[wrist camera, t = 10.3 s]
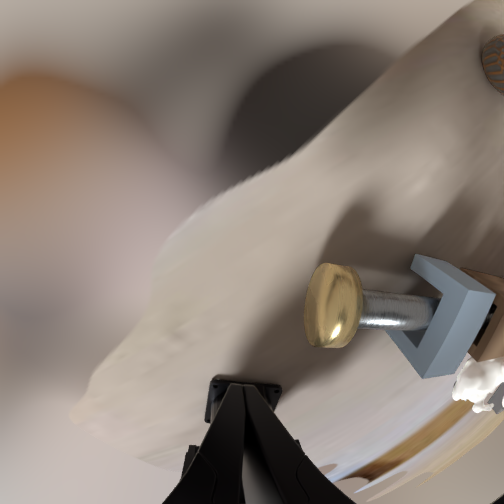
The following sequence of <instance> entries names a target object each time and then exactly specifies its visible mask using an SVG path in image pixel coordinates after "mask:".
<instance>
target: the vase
mask: <svg viewBox="0 0 504 504" xmlns="http://www.w3.org/2000/svg"><path fill="white" fill-rule="evenodd" d="M482 63H483V68H484V71H485V73H486V76H487V78H488V79H489V81H490V83H491V84H492V85H493V86H494V87H495V88H496V89H497V90H498V91H499V92H500V93H501V94H502V95H504V34H502V35H498V36H496V37H494V38H492V39H491V40H489V41H488V42H487V44H486V45H485V47H484V50H483V55H482Z"/></svg>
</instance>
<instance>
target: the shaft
mask: <svg viewBox="0 0 504 504" xmlns="http://www.w3.org/2000/svg"><path fill="white" fill-rule="evenodd" d="M441 299H442V298H433V297H424V296H416V295H407V294H398V293H390V292H382V291H374V290H366V289H362V285H361V281H360V278H359V276H358V274H357V272H356V271H355V270H354V269H353V268H351V267H348V266H342V265H336V264H330V263H323V264H321V265H320V266H319V267H318V268H317V269H316V270H315V272H314V274H313V276H312V278H311V280H310V283H309V286H308V290H307V294H306V299H305V307H304V327H305V333H306V337H307V339H308V341H309V343H310V344H311V345H312V346H314V347H326V348H342V347H344V346H346V345H347V344H348V343H349V342H350V341H351V339H352V338H353V336H354V335H355V333H356V331H357V329H376V330H412V331H427V329H428V327H429V325H430V323H431V320H432V318H433V316H434V314H435V312H436V310H437V308H438V305H439V303H440V301H441ZM496 308H497V306H496V305H495V304H493V303H492V305H491V307H490V309H489V311H488V314H487V316H486V318H485V320H484V322H483V324H482V326H481V328H480V330H482V329H487V327H488V325H489V323H490V321H491V319H492V317H493V315H494V312H495V310H496Z"/></svg>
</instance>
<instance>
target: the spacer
mask: <svg viewBox="0 0 504 504" xmlns="http://www.w3.org/2000/svg"><path fill="white" fill-rule="evenodd" d="M410 269H412V270H413V271H414V272H416V273H417V274H418V275H420V276H421V277H422V278H424V279H425V280H426V281H428V282H429V283H430V284H431V285H433V286H434V287H435V288H437V289H438V290H439V291H440V292H442V293H443V296H442V299H441V301H440V303H439V305H438V308H437V310H436V312H435V314H434V316H433V318H432V320H431V323H430V325H429V327H428V329H427V331H412V330H385V331H386V332H387V333H388V335H389V336H390V337H391V339H392V340H393V341H394V342H395V344H396V345H397V346H398V348H399V349H400V350H401V351H402V353H403V354H404V355H405V357H406V358H407V359H408V361H409V362H410V363H411V365H412V366H413V367H414V369H415V370H416V371H417V373H418V374H419V375H420V377H421V378H422V379H424V378H431V377H437V376H444V375H449V374H454V373H455V371H456V370H457V368H458V367H459V365H460V363H461V362H462V360H463V358H464V357H465V355H466V353H467V352H468V350H469V348H470V346H471V345H472V343H473V341H474V339H475V337H476V336H477V334H478V332H479V330H480V328H481V326H482V324H483V322H484V320H485V318H486V316H487V314H488V311H489V309H490V307H491V305H492V303H493V300H494V298H495V296H496V294H495V293H494V292H492V291H491V290H489V289H488V288H486V287H485V286H483V285H482V284H481V283H479V282H478V281H476V280H475V279H473V278H472V277H470V276H469V275H467V274H465V273H464V272H462V271H461V270H459V269H458V268H456V267H455V266H453V265H451V264H450V263H448V262H447V261H443V260H439V259H435V258H431V257H427V256H423V255H419V254H415V256H414V259H413V262H412V265H411V268H410Z"/></svg>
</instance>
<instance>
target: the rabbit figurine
mask: <svg viewBox="0 0 504 504" xmlns="http://www.w3.org/2000/svg"><path fill="white" fill-rule="evenodd" d="M502 382H504V357H500V358H496V359H491V360H487V361H482V362H476V361H475V359H474V358H473V357H472V358H470V359H469V360H468V361H467V363H466V364H465V366H464V367H463V369H462V370H461V372H460V373H459V374H458V376H457V382H456V384H455V385H454V388H453V391H452V397H453V399H454V400H455V401H457V400H459V399H462V400H465V401H466V400H467V399H469V400H470V401H471V402H474V405H473V407H472V409H473V411H474V412H476V413H479V412H481V411H483V410H484V411H490V410H491V409H492V407H494V404H493V403H492V404H489V405H484V399H485V398H486V397H487V395H488V394H489V393H490V392H491V393H493V391H494V390H495V388H496V387H497V386H498V385H499V384H501V383H502ZM502 406H503V407H504V397H503V400H502Z"/></svg>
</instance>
